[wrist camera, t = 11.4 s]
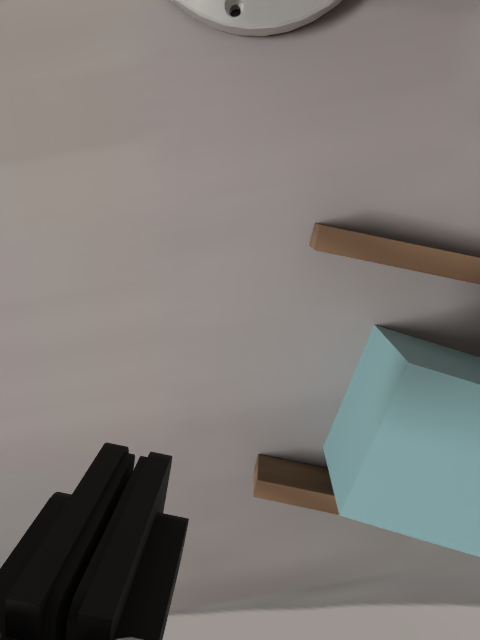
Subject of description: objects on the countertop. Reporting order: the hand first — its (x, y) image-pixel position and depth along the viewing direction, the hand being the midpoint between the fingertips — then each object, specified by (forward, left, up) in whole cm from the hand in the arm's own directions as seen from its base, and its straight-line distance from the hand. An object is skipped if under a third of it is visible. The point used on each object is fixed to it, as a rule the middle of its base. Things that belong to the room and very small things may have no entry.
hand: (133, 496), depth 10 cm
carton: (+3, +15, -14) cm, 21 cm away
